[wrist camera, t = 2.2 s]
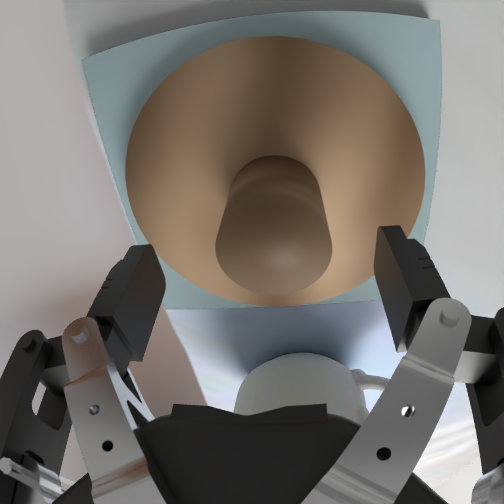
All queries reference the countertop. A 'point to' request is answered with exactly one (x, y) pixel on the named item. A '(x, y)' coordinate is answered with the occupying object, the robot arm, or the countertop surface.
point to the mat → (274, 24)
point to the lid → (273, 170)
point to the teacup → (307, 386)
